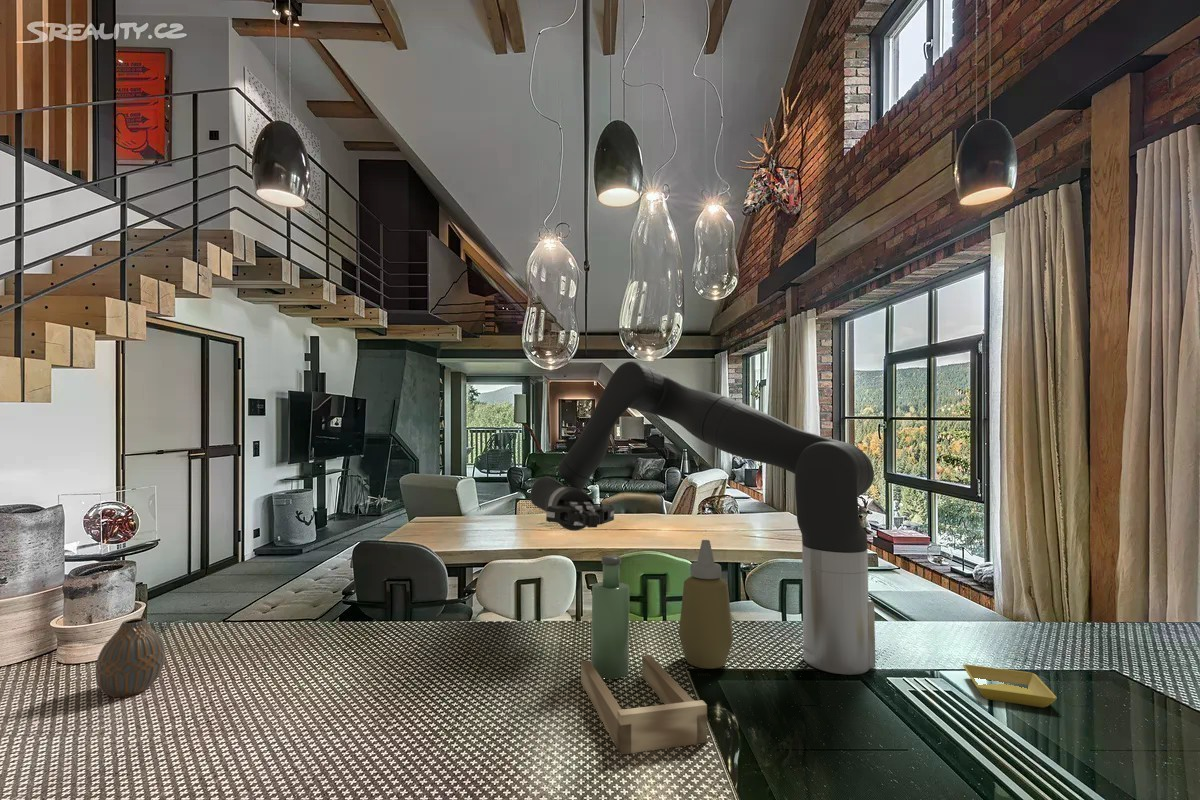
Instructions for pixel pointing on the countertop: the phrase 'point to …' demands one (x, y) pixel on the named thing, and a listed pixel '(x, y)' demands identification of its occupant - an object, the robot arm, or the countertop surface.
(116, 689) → the vase
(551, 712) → the countertop surface
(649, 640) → the countertop surface
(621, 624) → the bottle
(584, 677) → the u rest
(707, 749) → the countertop surface
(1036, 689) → the yellow shallow square tray
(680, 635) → the squeeze bottle
